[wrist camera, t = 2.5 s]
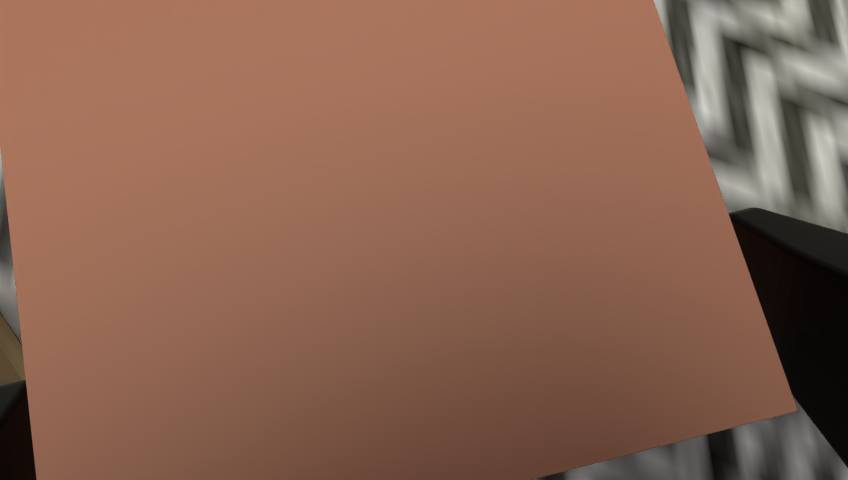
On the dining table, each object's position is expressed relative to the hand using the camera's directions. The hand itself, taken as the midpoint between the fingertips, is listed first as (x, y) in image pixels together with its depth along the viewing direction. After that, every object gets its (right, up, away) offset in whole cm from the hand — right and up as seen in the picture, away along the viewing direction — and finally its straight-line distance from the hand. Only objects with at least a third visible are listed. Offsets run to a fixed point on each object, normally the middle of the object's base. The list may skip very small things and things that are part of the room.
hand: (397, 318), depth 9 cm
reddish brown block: (0, -1, +9) cm, 9 cm away
